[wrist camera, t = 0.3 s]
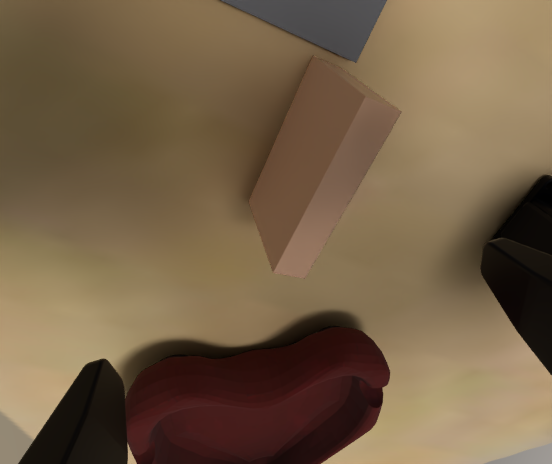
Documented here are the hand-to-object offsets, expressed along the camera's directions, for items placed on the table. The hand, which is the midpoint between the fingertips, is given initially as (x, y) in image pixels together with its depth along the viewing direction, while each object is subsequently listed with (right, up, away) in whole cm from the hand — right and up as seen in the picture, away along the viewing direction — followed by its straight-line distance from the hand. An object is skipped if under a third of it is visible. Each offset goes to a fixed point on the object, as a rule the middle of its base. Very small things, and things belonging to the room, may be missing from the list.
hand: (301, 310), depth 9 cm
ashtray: (-2, -11, +24) cm, 26 cm away
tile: (0, +7, +11) cm, 13 cm away
